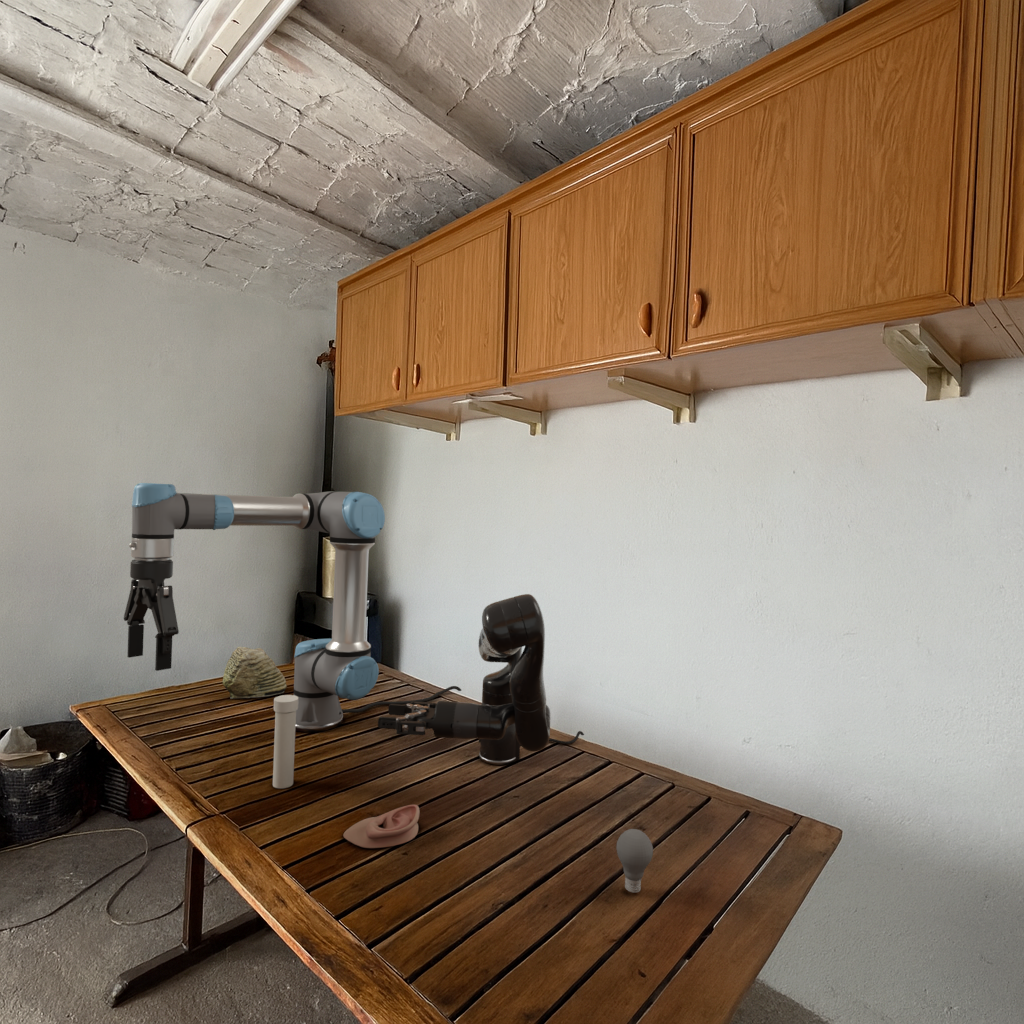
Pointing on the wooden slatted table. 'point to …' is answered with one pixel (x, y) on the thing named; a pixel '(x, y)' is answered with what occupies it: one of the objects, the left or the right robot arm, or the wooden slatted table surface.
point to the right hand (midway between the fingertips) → (383, 715)
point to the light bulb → (634, 857)
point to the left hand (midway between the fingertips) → (148, 662)
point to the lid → (285, 703)
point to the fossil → (252, 674)
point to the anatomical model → (385, 828)
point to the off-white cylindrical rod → (284, 749)
